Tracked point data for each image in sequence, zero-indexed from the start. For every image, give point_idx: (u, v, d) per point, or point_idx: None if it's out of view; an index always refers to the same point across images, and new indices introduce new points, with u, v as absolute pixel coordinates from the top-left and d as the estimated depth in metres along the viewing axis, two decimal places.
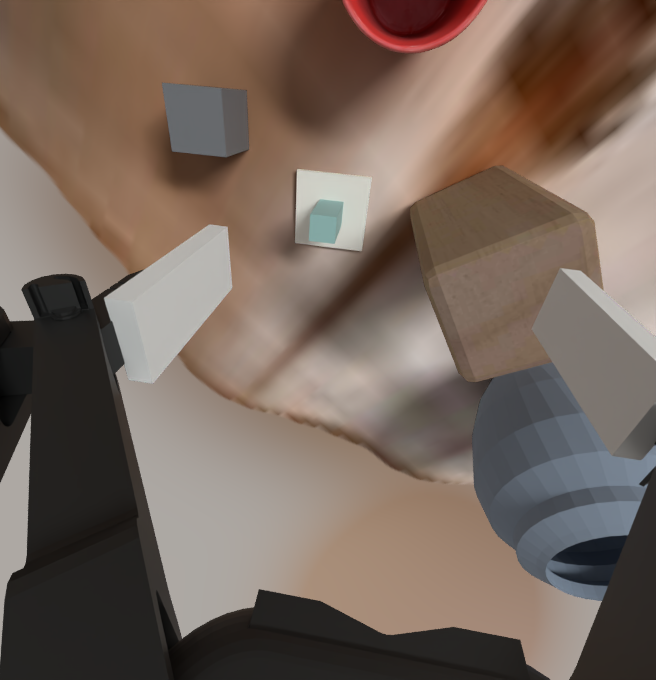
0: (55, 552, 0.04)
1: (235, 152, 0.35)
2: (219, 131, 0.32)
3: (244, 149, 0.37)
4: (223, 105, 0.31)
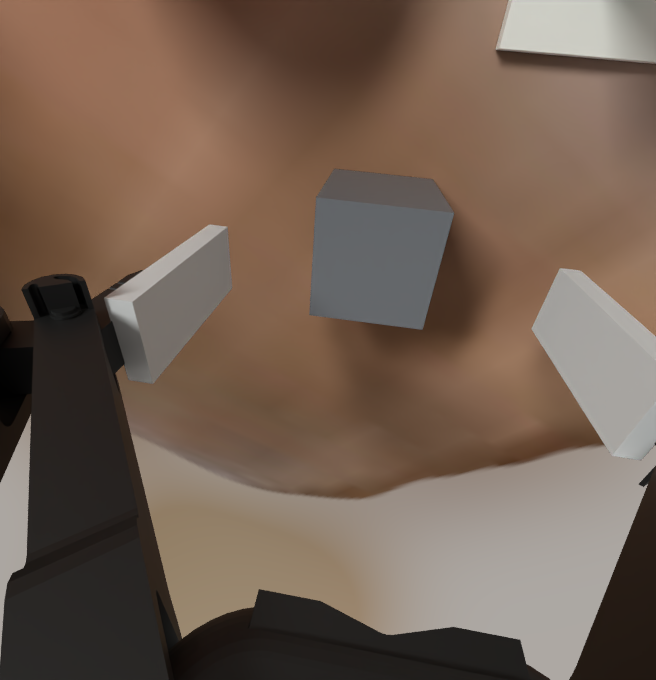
0: (55, 552, 0.04)
1: (441, 197, 0.15)
2: (397, 219, 0.14)
3: (433, 184, 0.18)
4: (349, 199, 0.14)
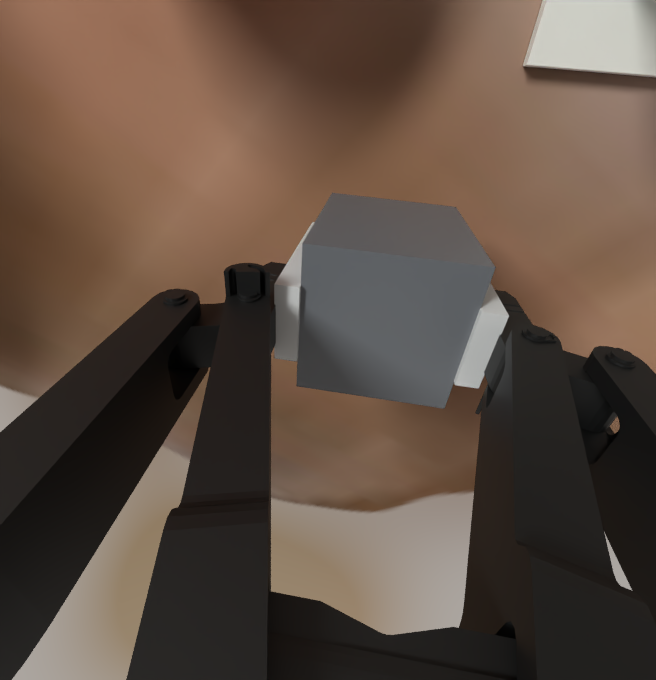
0: (202, 503, 0.05)
1: (472, 237, 0.12)
2: (415, 274, 0.10)
3: (458, 215, 0.14)
4: (348, 245, 0.10)
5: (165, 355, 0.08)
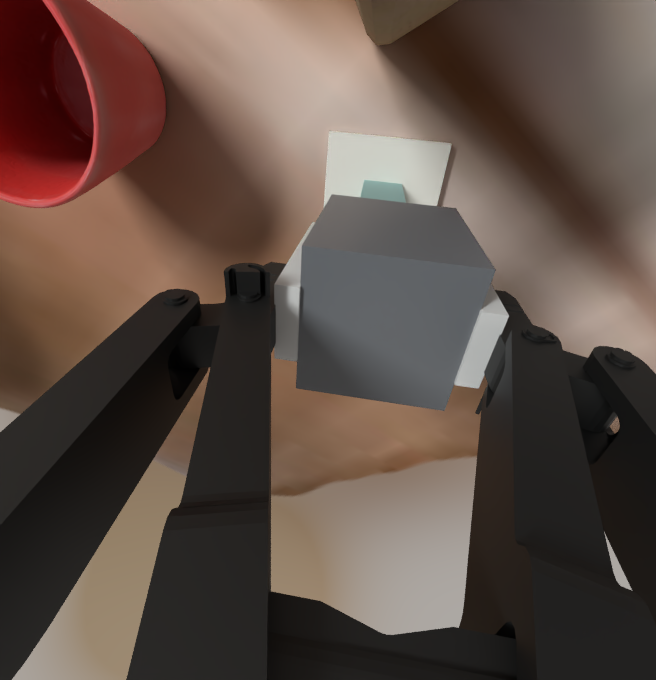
0: (202, 503, 0.05)
1: (472, 239, 0.12)
2: (415, 277, 0.10)
3: (458, 217, 0.14)
4: (347, 247, 0.10)
5: (166, 355, 0.08)
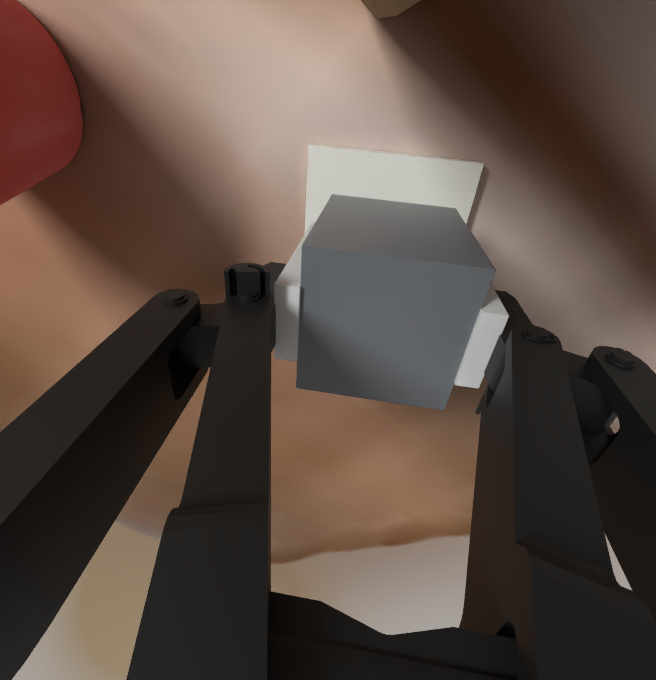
0: (202, 503, 0.05)
1: (472, 239, 0.12)
2: (415, 276, 0.10)
3: (458, 217, 0.14)
4: (347, 247, 0.10)
5: (166, 355, 0.08)
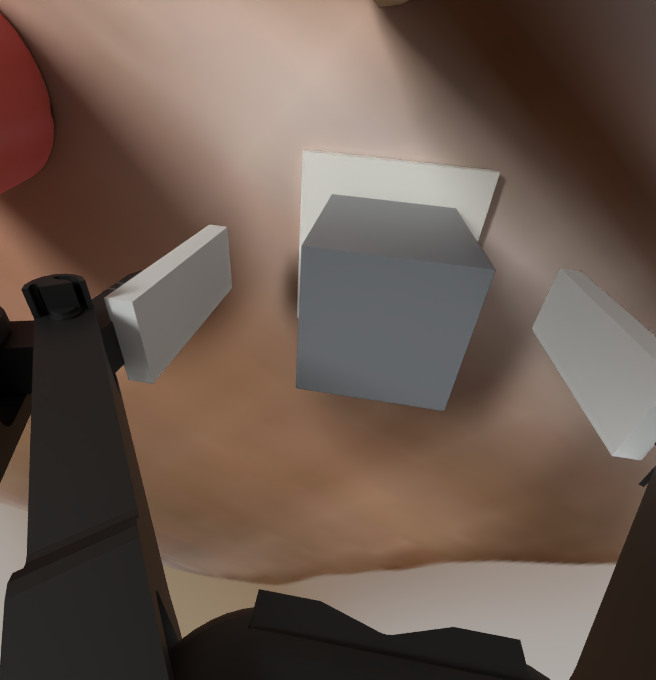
0: (55, 552, 0.04)
1: (472, 239, 0.12)
2: (415, 277, 0.10)
3: (458, 217, 0.14)
4: (347, 247, 0.10)
5: None
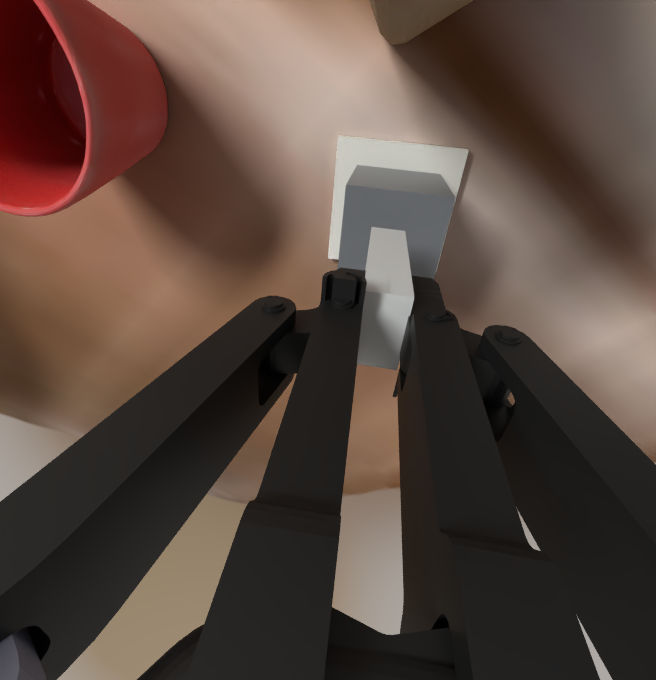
0: (276, 501, 0.05)
1: (446, 186, 0.19)
2: (410, 203, 0.17)
3: (440, 178, 0.21)
4: (371, 186, 0.17)
5: (257, 362, 0.08)
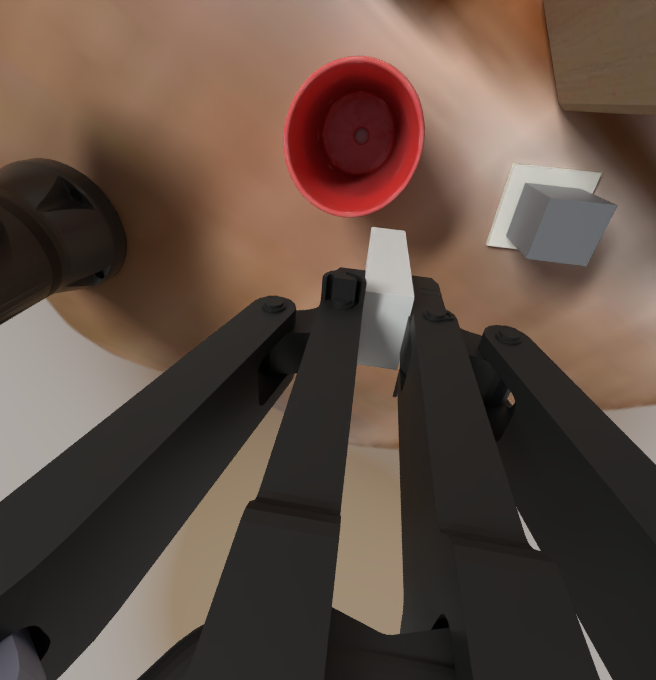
0: (276, 501, 0.05)
1: (600, 198, 0.31)
2: (588, 208, 0.29)
3: (586, 191, 0.33)
4: (565, 198, 0.29)
5: (257, 362, 0.08)
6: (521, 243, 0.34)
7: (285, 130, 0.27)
